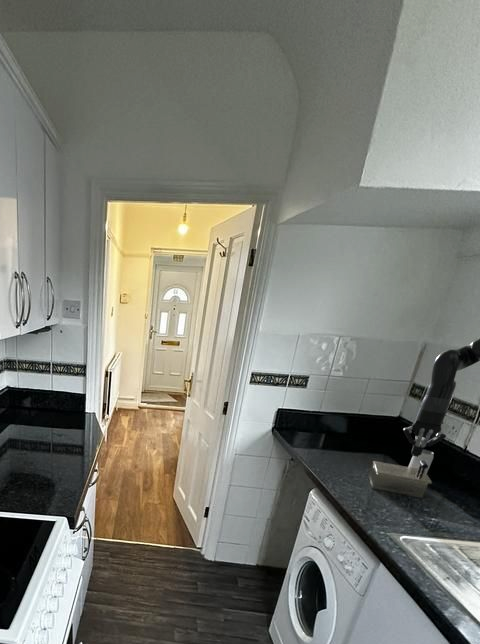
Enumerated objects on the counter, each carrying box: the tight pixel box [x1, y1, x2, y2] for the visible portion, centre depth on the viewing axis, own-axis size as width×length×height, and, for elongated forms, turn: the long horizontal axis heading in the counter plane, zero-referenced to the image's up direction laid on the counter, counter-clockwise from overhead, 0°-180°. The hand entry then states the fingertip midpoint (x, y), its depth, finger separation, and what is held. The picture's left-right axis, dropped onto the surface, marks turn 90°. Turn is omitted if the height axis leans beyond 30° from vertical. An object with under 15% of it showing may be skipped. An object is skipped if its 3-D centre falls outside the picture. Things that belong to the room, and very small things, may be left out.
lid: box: [372, 460, 433, 485], centre depth 157 cm, size 17×14×6 cm
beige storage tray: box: [367, 463, 429, 499], centre depth 160 cm, size 16×14×6 cm
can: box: [407, 448, 435, 475], centre depth 167 cm, size 6×6×12 cm
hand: (415, 455), depth 151 cm, fingers closed
